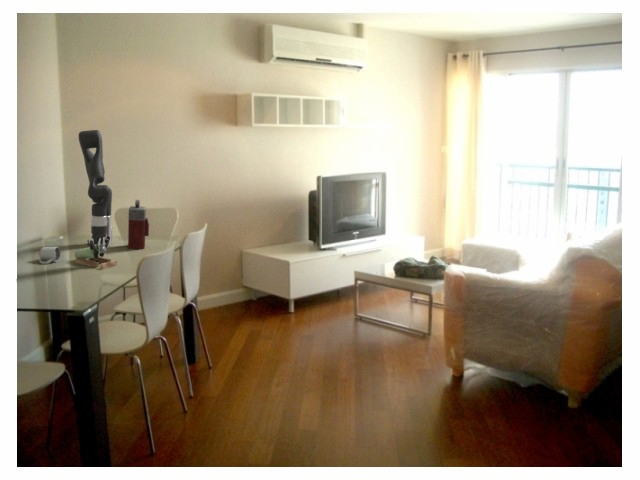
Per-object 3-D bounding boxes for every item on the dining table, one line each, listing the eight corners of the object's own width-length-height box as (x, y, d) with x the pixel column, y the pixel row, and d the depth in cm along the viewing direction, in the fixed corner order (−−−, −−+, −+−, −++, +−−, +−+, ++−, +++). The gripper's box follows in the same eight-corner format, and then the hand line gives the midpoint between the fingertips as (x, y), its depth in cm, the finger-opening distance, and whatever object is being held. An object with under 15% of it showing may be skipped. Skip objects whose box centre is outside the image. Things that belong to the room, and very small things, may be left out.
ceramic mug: (45, 258, 313) (45, 244, 311) (61, 259, 313) (60, 245, 311) (35, 264, 302) (34, 249, 301) (51, 265, 302) (51, 250, 301)
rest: (90, 259, 318) (90, 254, 318) (117, 265, 311) (117, 260, 311) (75, 262, 309) (75, 258, 309) (102, 269, 302) (102, 264, 302)
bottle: (82, 249, 317) (106, 243, 309) (84, 259, 317) (109, 254, 309) (73, 250, 312) (98, 244, 304) (76, 261, 312) (100, 255, 304)
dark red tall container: (148, 249, 348) (149, 201, 342) (128, 248, 346) (128, 200, 340) (149, 245, 357) (150, 198, 351) (129, 244, 354) (130, 197, 348)
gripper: (103, 221, 313) (103, 253, 317) (82, 224, 300) (82, 258, 304) (114, 223, 310) (114, 255, 314) (94, 227, 297) (94, 261, 301)
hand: (98, 256), depth 309 cm, fingers closed on bottle, 3 cm apart
